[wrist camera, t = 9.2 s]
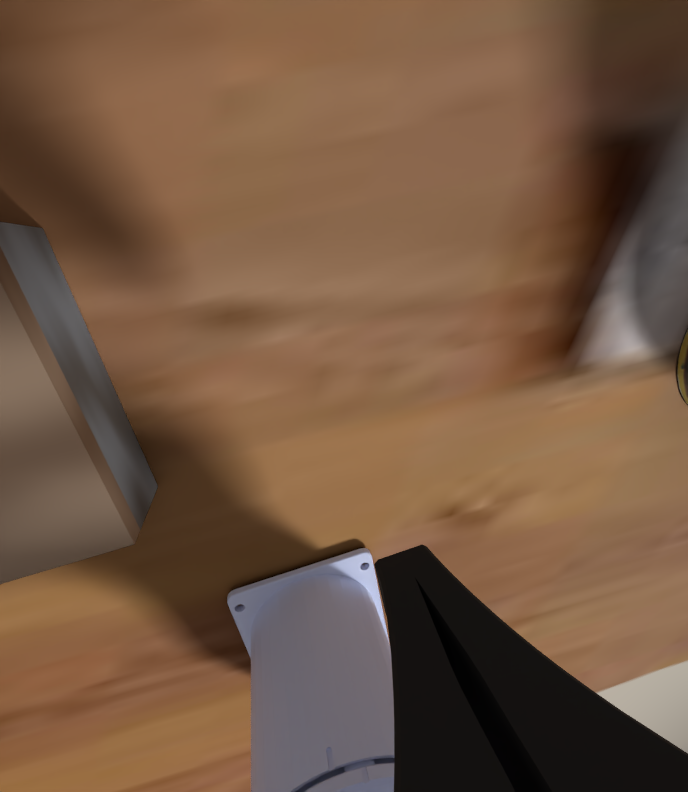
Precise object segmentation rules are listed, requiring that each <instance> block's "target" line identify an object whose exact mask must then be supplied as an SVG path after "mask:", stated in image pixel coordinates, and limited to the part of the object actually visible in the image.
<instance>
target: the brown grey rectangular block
mask: <svg viewBox="0 0 688 792" xmlns="http://www.w3.org/2000/svg"><path fill="white" fill-rule="evenodd" d="M157 488H158V485H157V483H156V481H155V479H154V476H153V474H152V472H151V470H150V467H149V465H148V463H147V461H146V459H145V456H144V454H143V452H142V450H141V447H140V445H139V443H138V441H137V438H136V436H135V434H134V432H133V429H132V427H131V425H130V423H129V420H128V418H127V416H126V414H125V412H124V409H123V407H122V405H121V403H120V400H119V398H118V396H117V394H116V391H115V389H114V387H113V385H112V382H111V380H110V378H109V376H108V373H107V371H106V369H105V367H104V364H103V362H102V360H101V358H100V356H99V353H98V351H97V349H96V347H95V344H94V342H93V340H92V338H91V335H90V333H89V331H88V329H87V326H86V324H85V322H84V320H83V317H82V315H81V313H80V311H79V309H78V306H77V304H76V302H75V300H74V297H73V295H72V293H71V291H70V288H69V286H68V284H67V282H66V279H65V277H64V275H63V273H62V270H61V268H60V266H59V264H58V261H57V259H56V257H55V255H54V253H53V250H52V248H51V246H50V244H49V241H48V239H47V237H46V235H45V232H44V230H43V228H38V227H32V226H25V225H18V224H12V223H5V222H0V584H2V583H6V582H9V581H12V580H16V579H19V578H22V577H26V576H29V575H33V574H36V573H39V572H43V571H46V570H49V569H53V568H56V567H60V566H63V565H66V564H70V563H73V562H76V561H80V560H83V559H87V558H90V557H93V556H97V555H100V554H104V553H107V552H110V551H114V550H117V549H120V548H124V547H127V546H131V545H134V544H135V542H136V540H137V537H138V535H139V532H140V530H141V527H142V525H143V522H144V520H145V517H146V515H147V513H148V510H149V508H150V505H151V503H152V500H153V498H154V495H155V493H156V490H157Z"/></svg>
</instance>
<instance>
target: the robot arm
mask: <svg viewBox="0 0 688 792" xmlns="http://www.w3.org/2000/svg"><path fill="white" fill-rule="evenodd" d="M363 563H366V564H364V565H362V564H363ZM374 565H375V569H376V573H377V578H378V582H379V587H380V591H381V595H382V600H383V604H384V608H385V612H386V615H387V621H388V630H389V639H390V644H389V639H388V634H387V630H386V625H385V620H384V615H383V610H382V605H381V600H380V595H379V590H378V585H377V580H376V575H375V570H374ZM374 565H373V560H372V556H371V553H370V551H369V550H368V549H367V548H360V549H357V550H354V551H351V552H348V553H345V554H342V555H339V556H336V557H333V558H330V559H326V560H323V561H320V562H317V563H314V564H311V565H308V566H305V567H302V568H299V569H296V570H293V571H290V572H287V573H283V574H280V575H277V576H274V577H271V578H268V579H265V580H262V581H259V582H256V583H253V584H250V585H247V586H244V587H240V588H237V589H234V590H232V591H231V592H230V593H229V594H228V597H227V604H228V606H229V609H230V611H231V613H232V616H233V618H234V620H235V623H236V625H237V628H238V630H239V632H240V635H241V637H242V639H243V642H244V644H245V647H246V649H247V651H248V654H249V656H250V658H251V792H688V754H687V753H686V752H684V751H683V750H681V749H680V748H678V747H677V746H675V745H673V744H672V743H670V742H669V741H667V740H666V739H664V738H663V737H661V736H660V735H658V734H657V733H655V732H653V731H652V730H650V729H649V728H647V727H646V726H644V725H643V724H641V723H639V722H638V721H636V720H635V719H633V718H632V717H630V716H629V715H627V714H625V713H624V712H622V711H621V710H620V709H618V708H617V707H615V706H613V705H612V704H611V703H609V702H608V701H606V700H605V699H604V698H602V697H601V696H599V695H598V694H597V693H595V692H594V691H592V690H591V689H589V688H588V687H587V686H585V685H584V684H582V683H581V682H580V681H578V680H577V679H576V678H574V677H573V676H572V675H570V674H569V673H567V672H566V671H565V670H563V669H562V668H561V667H559V666H558V665H557V664H555V663H554V662H553V661H551V660H550V659H549V658H548V657H546V656H545V655H544V654H542V653H541V652H540V651H539V650H537V649H536V648H535V647H534V646H532V645H531V644H530V643H529V642H527V641H526V640H525V639H524V638H523V637H521V636H520V635H519V634H518V633H516V632H515V631H514V630H513V629H512V628H510V627H509V626H508V625H507V624H506V623H505V622H503V621H502V620H501V619H500V618H499V617H498V616H497V615H495V614H494V613H493V612H492V611H491V610H490V609H489V608H488V607H487V606H485V605H484V604H483V603H482V602H481V601H480V600H479V599H478V598H477V597H475V596H474V595H473V594H472V593H471V592H470V591H469V590H468V589H467V588H466V587H465V586H464V585H463V584H462V583H461V582H460V581H459V580H458V579H457V578H456V577H455V576H454V575H453V574H452V573H451V572H450V571H449V570H448V569H447V568H446V567H445V566H444V565H443V564H442V563H441V562H440V561H439V560H438V559H437V558H436V557H435V556H434V554H433V553H432V552H431V551H430V550H429V549H428V548H427V547H426V546H424V545H420V546H417V547H414V548H411V549H408V550H405V551H402V552H399V553H396V554H393V555H391V556H388V557H385V558H382V559H379V560H377V562H376V563H375V564H374ZM239 604H242V605H241V606H238V605H239Z"/></svg>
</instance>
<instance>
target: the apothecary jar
mask: <svg viewBox="0 0 688 792" xmlns="http://www.w3.org/2000/svg"><path fill="white" fill-rule="evenodd" d="M677 376H678V384H679V389H680V392H681V394H682V396H683V399H684V400H685V402H686V403H687V405H688V329H687V332H686V334H685V337H684V339H683V342H682V345H681V349H680V353H679V359H678V367H677Z"/></svg>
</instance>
